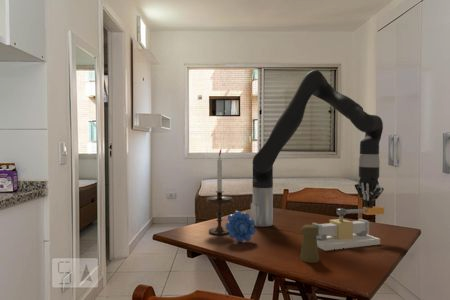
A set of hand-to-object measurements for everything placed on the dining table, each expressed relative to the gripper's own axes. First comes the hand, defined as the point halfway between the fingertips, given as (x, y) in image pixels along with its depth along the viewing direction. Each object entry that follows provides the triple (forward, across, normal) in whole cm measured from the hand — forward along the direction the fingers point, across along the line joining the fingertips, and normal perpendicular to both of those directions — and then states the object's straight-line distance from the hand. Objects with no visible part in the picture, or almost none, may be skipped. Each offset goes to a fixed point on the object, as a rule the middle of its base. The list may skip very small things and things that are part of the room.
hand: (368, 209), depth 138 cm
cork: (+12, -11, +37) cm, 40 cm away
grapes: (+12, +14, +49) cm, 52 cm away
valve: (+11, 0, +14) cm, 18 cm away
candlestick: (+12, +31, +50) cm, 60 cm away
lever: (+1, -2, +6) cm, 7 cm away
